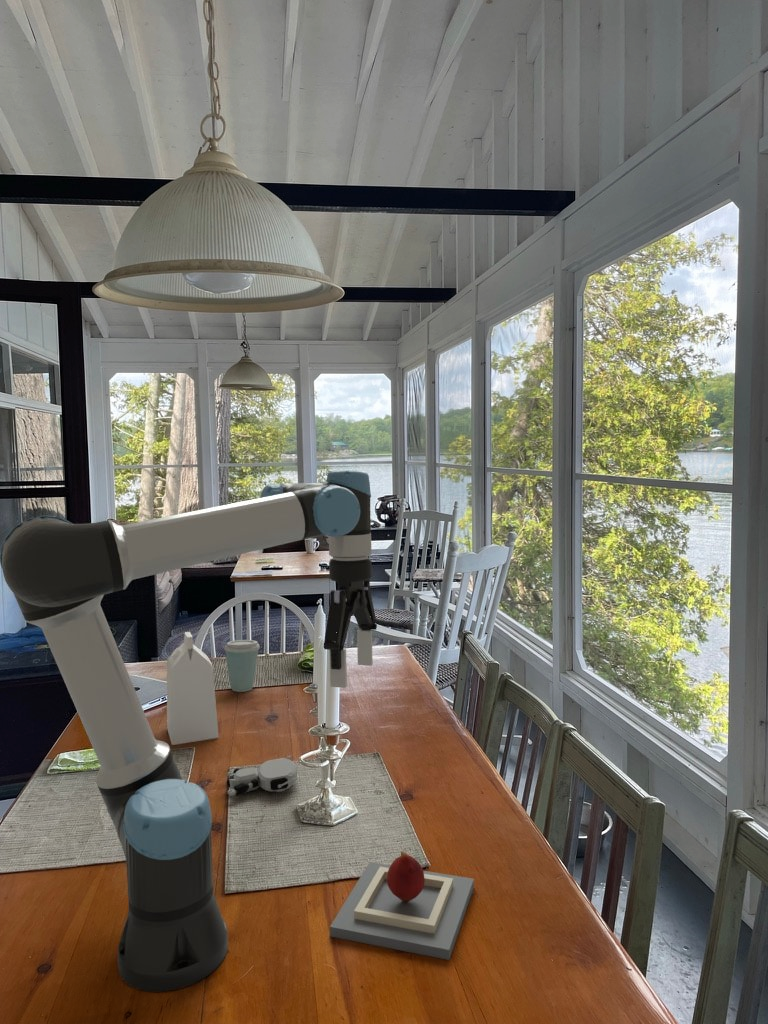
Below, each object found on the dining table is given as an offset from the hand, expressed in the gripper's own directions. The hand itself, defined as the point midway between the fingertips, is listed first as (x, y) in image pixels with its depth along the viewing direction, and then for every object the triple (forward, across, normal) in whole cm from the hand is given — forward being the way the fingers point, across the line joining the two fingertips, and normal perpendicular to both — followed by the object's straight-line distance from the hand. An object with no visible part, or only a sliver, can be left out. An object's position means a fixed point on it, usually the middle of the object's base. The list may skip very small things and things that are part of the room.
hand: (352, 675), depth 131 cm
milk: (+32, -40, -60) cm, 79 cm away
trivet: (+32, +16, +14) cm, 38 cm away
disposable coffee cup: (+32, -76, -65) cm, 105 cm away
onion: (+30, +16, +14) cm, 37 cm away
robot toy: (+32, -17, -28) cm, 45 cm away
